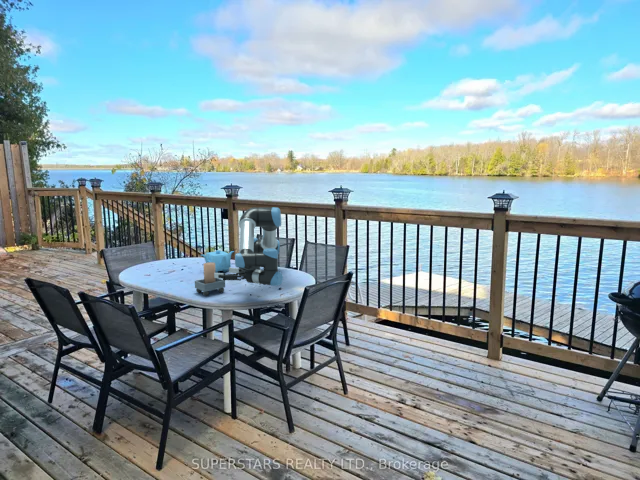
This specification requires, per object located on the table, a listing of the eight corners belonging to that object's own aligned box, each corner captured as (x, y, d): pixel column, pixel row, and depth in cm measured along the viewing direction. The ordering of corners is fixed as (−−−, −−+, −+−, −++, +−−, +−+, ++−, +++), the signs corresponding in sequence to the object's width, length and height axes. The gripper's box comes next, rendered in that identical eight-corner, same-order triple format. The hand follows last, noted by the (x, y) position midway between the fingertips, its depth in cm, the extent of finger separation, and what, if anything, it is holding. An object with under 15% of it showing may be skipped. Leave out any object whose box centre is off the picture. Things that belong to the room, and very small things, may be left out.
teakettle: (211, 267, 288) (210, 247, 285) (236, 268, 285) (235, 248, 283) (200, 273, 269) (199, 252, 267) (226, 275, 267) (226, 253, 264)
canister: (212, 282, 230) (211, 261, 228) (217, 284, 225) (217, 263, 224) (202, 284, 225) (201, 263, 224) (207, 286, 221) (207, 265, 219)
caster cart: (215, 288, 235) (215, 276, 234) (225, 292, 227) (225, 280, 226) (195, 292, 226) (194, 280, 224) (204, 297, 218) (204, 284, 217)
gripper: (242, 288, 202) (208, 284, 210) (266, 277, 225) (235, 274, 233) (242, 274, 201) (207, 270, 209) (266, 264, 224) (234, 261, 232)
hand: (222, 272), depth 221 cm, fingers open, 13 cm apart
